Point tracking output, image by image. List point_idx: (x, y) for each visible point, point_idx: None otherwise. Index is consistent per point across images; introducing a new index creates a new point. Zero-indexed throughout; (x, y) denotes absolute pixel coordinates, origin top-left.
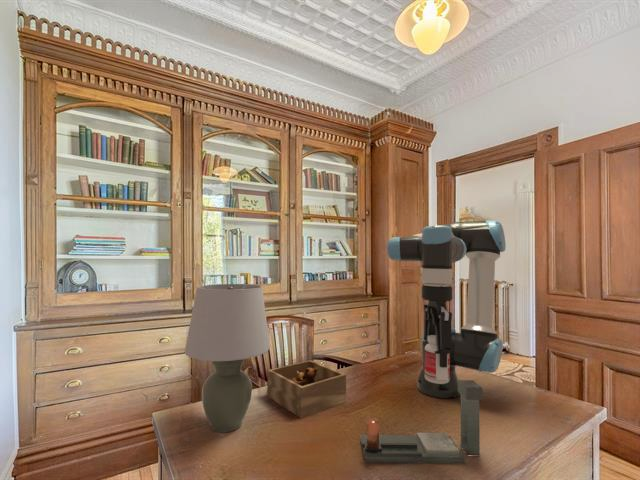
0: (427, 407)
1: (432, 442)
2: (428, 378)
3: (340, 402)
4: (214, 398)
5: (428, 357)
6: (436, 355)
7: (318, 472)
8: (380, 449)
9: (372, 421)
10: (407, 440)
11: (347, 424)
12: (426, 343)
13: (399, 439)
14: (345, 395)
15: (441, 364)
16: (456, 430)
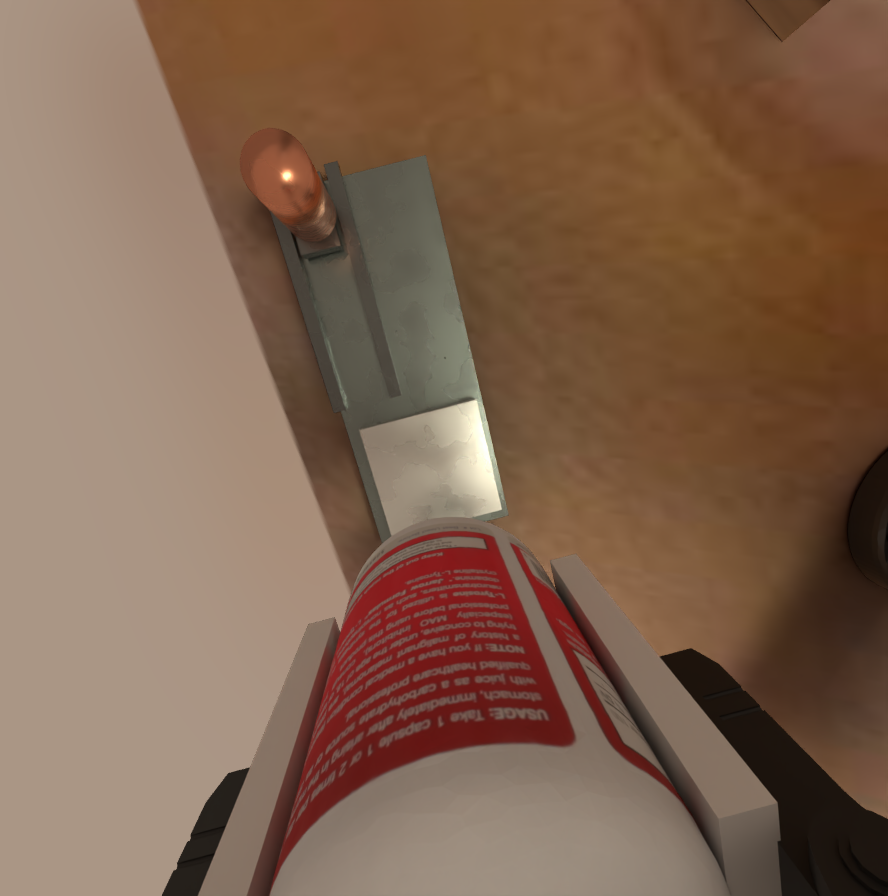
0: (758, 451)
1: (418, 454)
2: (376, 551)
3: (760, 5)
4: None
5: (347, 707)
6: (223, 891)
7: (150, 6)
8: (301, 250)
9: (266, 164)
10: (435, 361)
11: (546, 85)
12: (853, 818)
13: (433, 330)
14: (811, 11)
15: (198, 819)
16: (587, 539)
